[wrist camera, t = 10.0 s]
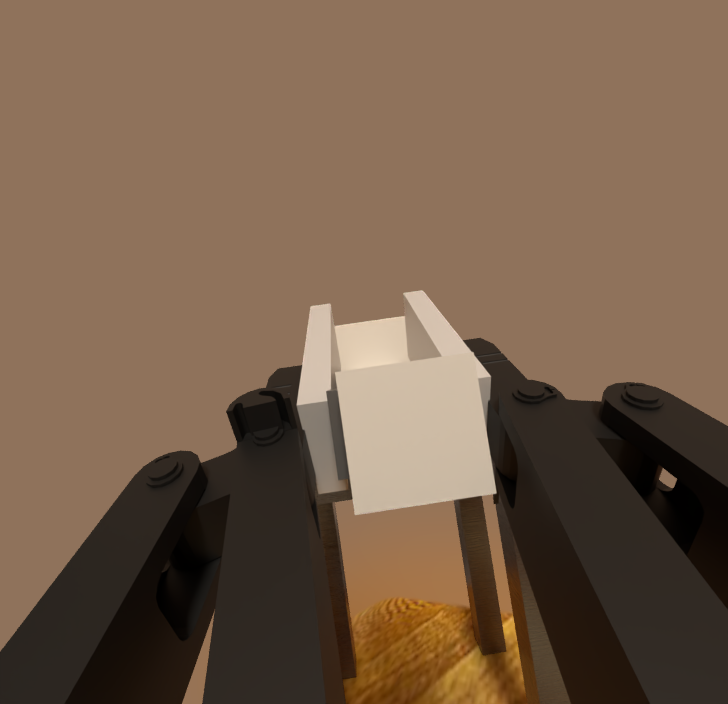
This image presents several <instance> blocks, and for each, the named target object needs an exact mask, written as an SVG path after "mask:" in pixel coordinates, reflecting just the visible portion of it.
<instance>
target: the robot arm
mask: <svg viewBox="0 0 728 704" xmlns="http://www.w3.org/2000/svg"><path fill="white" fill-rule="evenodd" d="M403 297H404V310H405V324H406V338H407V351H408V357H409V360H410V361H415V360H422V359H429V358H436V357H443V356H449V355H456V354H463V353H470V352H474V357H475V363H476V370H477V376H478V382H479V388H480V394H481V400H482V406H483V413H484V419H485V425H486V431H487V437H488V443H489V450H490V456H491V458H492V459H493V461H494V463H495V475H494V480H495V486H496V494H493V500H494V504H498V503H499V495H500V498H501V500H502V503H503V506H504V509H505V512H506V515H507V518H508V521H509V524H510V527H511V530H512V533H513V536H514V538H515V541H516V544H517V547H518V550H519V553H520V556H521V559H522V562H523V565H524V568H525V571H526V574H527V576H528V579H529V582H530V585H531V588H532V591H533V594H534V597H535V600H536V603H537V606H538V609H539V612H540V615H541V617H542V620H543V623H544V626H545V629H546V632H547V635H548V638H549V641H550V644H551V647H552V650H553V653H554V655H555V658H556V661H557V664H558V667H559V670H560V673H561V676H562V679H563V682H564V685H565V688H566V691H567V693H568V696H569V699H570V702H571V704H728V426H726V425H725V424H723V423H721V422H719V421H718V420H716V419H714V418H712V417H711V416H709V415H707V414H705V413H704V412H702V411H700V410H698V409H697V408H694V407H693V406H691V405H689V404H688V403H686V402H684V401H682V400H681V399H679V398H677V397H675V396H674V395H672V394H670V393H668V392H666V391H663V390H661V389H659V388H656V387H653V386H649V385H646V384H643V383H631V382H626V383H616V384H613V385H611V386H608V387H607V388H606V390H605V391H604V392H603V397H602V401H601V402H598V401H578V400H567V399H565V397H564V396H563V395H562V393H561V392H560V391H558V390H557V389H556V388H555V387H553V386H551V385H549V384H546V383H543V382H539V381H535V380H527V379H526V378H525V376H524V375H523V374H521V372H520V371H519V370H518V369H517V368H516V367H515V366H514V365H513V364H512V363H511V362H510V361H509V360H507V358H506V357H505V356H504V355H503V354H501V352H500V351H499V349H498V348H497V347H496V346H495V345H494V344H492V343H490V342H488V341H485V340H484V339H481V338H477V339H469V340H462V339H461V338H460V337H459V335H458V334H457V333H456V332H455V330H454V329H453V328H452V327H451V325H450V324H449V323H448V322H447V320H446V319H445V318H444V317H443V315H442V314H441V313H440V312H439V310H438V309H437V308H436V307H435V305H434V304H433V303H432V301H431V300H430V299H429V298H428V296H427V295H426V294H425V293H424V291H423V290H422V291H414V292H407V293H404V294H403ZM339 371H341V362H340V356H339V350H338V345H337V339H336V333H335V327H334V321H333V315H332V310H331V304H324V305H317V306H311V308H310V315H309V322H308V329H307V336H306V343H305V350H304V357H303V364H302V365H301V366H293V367H287V368H280V369H277V370H276V371H275V372H274V374H273V375H271V377H270V378H269V379H268V383H267V386H266V388H261V389H257V390H254V391H250V392H248V393H246V394H244V395H242V396H240V397H238V398H237V399H236V400H235V401H233V402H232V403H231V404H230V405H229V408H228V409H227V411H226V412H227V415H228V418H229V421H230V423H231V426H232V429H233V432H234V435H235V437H236V440H237V448H236V449H234V450H233V451H231V452H228V453H226V454H224V455H222V456H219V457H216V458H213V459H211V460H208V461H206V462H203V463H201V462H200V460H199V458H198V455H196V454H194V453H193V452H191V451H177V452H172V453H168V454H165V455H163V456H160V457H158V458H156V459H155V460H153V461H151V462H150V463H149V464H147V465H145V466H144V467H143V468H142V469H141V470H140V471H139V472H138V473H137V474H136V475H135V476H134V477H133V478H132V480H131V481H130V482H129V484H128V485H127V487H126V488H125V489H124V490H123V492H122V493H121V494H120V495H119V497H118V498H117V500H116V501H115V502H114V503H113V505H112V506H111V507H110V509H109V510H108V511H107V513H106V514H105V515H104V517H103V518H102V519H101V520H100V522H99V523H98V524H97V526H96V527H95V528H94V530H93V531H92V532H91V534H90V535H89V536H88V538H87V539H86V540H85V542H84V543H83V544H82V545H81V547H80V548H79V549H78V551H77V552H76V553H75V555H74V556H73V557H72V558H71V560H70V561H69V562H68V564H67V565H66V567H65V568H64V569H63V570H62V572H61V573H60V574H59V575H58V577H57V578H56V579H55V581H54V582H53V583H52V585H51V586H50V587H49V589H48V590H47V591H46V593H45V594H44V595H43V596H42V598H41V599H40V600H39V602H38V603H37V605H36V606H35V607H34V608H33V610H32V611H31V612H30V614H29V615H28V616H27V618H26V619H25V620H24V622H23V623H22V624H21V625H20V627H19V628H18V629H17V631H16V632H15V633H14V635H13V636H12V637H11V639H10V640H9V641H8V642H7V644H6V645H5V646H4V648H3V649H2V650H1V652H0V704H182V701H183V699H184V696H185V693H186V690H187V687H188V684H189V681H190V679H191V676H192V673H193V670H194V667H195V664H196V661H197V659H198V656H199V653H200V650H201V647H202V644H203V641H204V638H205V636H206V633H207V630H208V627H209V624H210V621H211V619H212V616H213V613H214V610H215V614H214V621H213V628H212V636H211V643H210V651H209V659H208V666H207V673H206V681H205V688H204V696H203V703H202V704H346V702H345V695H344V687H343V680H342V673H341V666H340V659H339V652H338V645H337V638H336V631H335V624H334V617H333V609H332V602H331V595H330V588H329V581H328V574H327V567H326V560H325V553H324V546H323V539H322V531H321V524H320V517H319V510H318V506H317V502H316V498H315V482H316V486H317V490H318V494H323V493H330V492H336V491H343V490H348V479H344V480H338V474H337V467H336V460H335V453H334V445H333V438H332V431H331V424H330V417H329V409H328V402H327V395H326V391H328V390H330V389H333V388H334V387H336V386H337V383H336V376H335V372H339ZM662 468H664V469H665V470H667V471H668V472H669V473H670V474H672V475H673V476H674V477H676V478H677V481H676V484H675V487H674V488H670V487H668V486H666V485H665V484H663V483H662V482H661V481H660V480H659V477H660V474H661V471H662Z"/></svg>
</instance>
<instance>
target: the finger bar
mask: <svg viewBox="0 0 728 704" xmlns="http://www.w3.org/2000/svg"><path fill="white" fill-rule="evenodd" d="M334 327H335V333H336V339H337V345H338V350H339V356H340V362H341V371H339V372H335V376H336V383H337V386H336V387H334V388H333V389H330V390H328V391H326V395H327V402H328V409H329V417H330V424H331V431H332V438H333V445H334V453H335V460H336V467H337V474H338V480H344V479H350V483H351V490H352V497H353V504H354V511H355V515H358V514H366V513H372V512H378V511H384V510H392V509H398V508H405V507H411V506H418V505H424V504H431V503H437V502H444V501H450V500H457V499H463V498H470V497H476V496H482V495H489V494H496V486H495V480H494V474H493V468H492V462H491V456H490V450H489V443H488V437H487V431H486V425H485V419H484V413H483V406H482V400H481V394H480V388H479V382H478V376H477V370H476V363H475V357H474V352H470V353H463V354H456V355H449V356H443V357H436V358H429V359H422V360H415V361H410V360H409V357H408V351H407V338H406V324H405V316H402V317H395V318H388V319H381V320H374V321H368V322H360V323H353V324H345V325H338V326H334Z"/></svg>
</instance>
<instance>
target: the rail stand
mask: <svg viewBox="0 0 728 704" xmlns="http://www.w3.org/2000/svg"><path fill="white" fill-rule="evenodd" d="M491 462H492V468H493V474H494V475H495V463H494V461H493V459H492V458H491ZM315 498H316V502H317V506H318V510H319V517H320V524H321V531H322V539H323V546H324V553H325V560H326V567H327V574H328V581H329V588H330V595H331V602H332V609H333V617H334V624H335V631H336V638H337V645H338V652H339V659H340V666H341V673H342V679H347V678H353V677H356V654H355V647H354V640H353V632H352V625H351V618H350V611H349V603H348V596H347V589H346V581H345V574H344V566H343V560H342V552H341V544H340V537H339V530H338V523H337V515H336V508H335V502H339V501H345V500H351V499H353V497H352V490H351V483H350V479H348V490H343V491H336V492H330V493H323V494H318V490H317V486H316V482H315ZM454 505H455V512H456V517H457V525H458V530H459V537H460V544H461V550H462V557H463V563H464V569H465V576H466V582H467V589H468V596H469V602H470V609H471V615H472V622H473V628H474V635H475V639H476V641H477V643H478V646H479V648H480V650H481V652H482V654H483V655H488V654H494V653H500V652H505V651H506V646H505V639H504V633H503V627H502V620H501V614H500V608H499V602H498V596H497V590H496V583H495V578H494V570H493V564H492V558H491V551H490V545H489V539H488V532H487V527H486V520H485V514H484V508H483V501H482V496H476V497H470V498H463V499H457V500H454ZM496 510H497V517H498V523H499V529H500V535H501V542H502V548H503V554H504V559H505V566H506V573H507V579H508V585H509V591H510V598H511V604H512V609H513V616H514V623H515V629H516V635H517V641H518V647H519V654H520V660H521V666H522V672H523V678H524V685H525V691H526V697H527V703H528V704H571V702H570V699H569V696H568V693H567V691H566V688H565V685H564V682H563V679H562V676H561V673H560V670H559V667H558V664H557V661H556V658H555V655H554V653H553V650H552V647H551V644H550V641H549V638H548V635H547V632H546V629H545V626H544V623H543V620H542V617H541V615H540V612H539V609H538V606H537V603H536V600H535V597H534V594H533V591H532V588H531V585H530V582H529V579H528V576H527V574H526V571H525V568H524V565H523V562H522V559H521V556H520V553H519V550H518V547H517V544H516V541H515V538H514V536H513V533H512V530H511V527H510V524H509V521H508V518H507V515H506V512H505V509H504V506H503V503H502V500H501V498H500V495H499V503H498V504H496Z"/></svg>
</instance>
